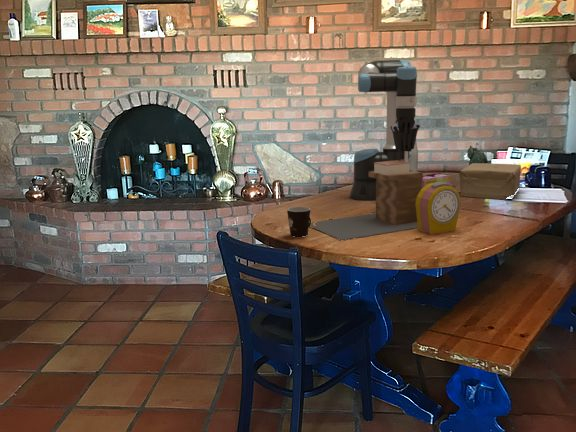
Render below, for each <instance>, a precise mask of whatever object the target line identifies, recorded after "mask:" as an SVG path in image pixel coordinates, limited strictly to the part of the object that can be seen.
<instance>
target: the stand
mask: <svg viewBox="0 0 576 432" xmlns="http://www.w3.org/2000/svg"><path fill="white" fill-rule="evenodd" d="M423 176H424V175H423V172H420V171H418V170H417V171H412V170H409V173H402V174H393V175H383V174H379V173H374V171H369V172H368V177H372V178H376V199H375V213H376V218H378V219H381V220H384V221H386V222H389V223H392V224H395V225H400V224H406V223H412V222H417V214H416V206H415V203H416V198H417V195H418V194H419V192H420V190H421V189H422V178H423Z"/></svg>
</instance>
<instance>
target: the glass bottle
mask: <svg viewBox="0 0 576 432" xmlns="http://www.w3.org/2000/svg"><path fill="white" fill-rule="evenodd" d="M410 153H411V157H410V158H411V159H410V166H409V170H412V171H417V172H418V162H419V149H418V144H417V140H416V141H415V145H414V149H411V151H410Z"/></svg>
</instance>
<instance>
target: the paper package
mask: <svg viewBox="0 0 576 432" xmlns="http://www.w3.org/2000/svg"><path fill="white" fill-rule="evenodd" d="M521 170H522V166H521V164H515V163H513V164H510V163H472V164H470V165H469V164H468V165H467V166H466V167H463V169H461V170H459V188H460V197H461V196H462V197H465V198H467V197H468V198H469V197H470V198H478V199H479V198H481V199H491V200H492V199H493V200H496V199H497V200H504V201H505V199H506V198H507V197H509V196H511V195H514V194H515V192H516V191H517V189H518V188H519V189H520V184H521V173H522V171H521Z"/></svg>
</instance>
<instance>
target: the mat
mask: <svg viewBox="0 0 576 432" xmlns="http://www.w3.org/2000/svg"><path fill="white" fill-rule="evenodd" d="M311 222H312V223H311V224H310V226H311V227H313V228H315V229H318V230H320V231H322V232H324V233H327V234H329V235H331V236H333V237H332V238H334V237H336V238H338V239H340V240H339V241H341V240H344V241H346V240H345V239H350V240H354V239H353V238H356V239H361V237H362V238H367V237H373V236H374V237H375V236H379V235H384V234H390V233H397V232H402V231H403V232H404V231H410V230H415V229H418V223H417V222H412V223H406V224H400V225H395V224H392V223H389V222H386V221H384V220H381V219H378V218H376V212H375V213H368V214H360V215H354V216H347V217H340V218H333V219H327V220H320V221H316V222H317V223H315V225H316V226H314V225H313V223H314V222H315V221H311ZM311 227H310V228H311ZM313 228H312V229H313ZM315 229H314V230H315ZM318 230H317V231H318ZM320 231H319V232H320ZM322 232H321V233H322ZM324 233H323V234H324ZM327 234H326V235H327ZM329 235H328V236H329ZM331 236H330V237H331ZM336 238H335V239H336ZM338 239H337V240H338Z"/></svg>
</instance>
